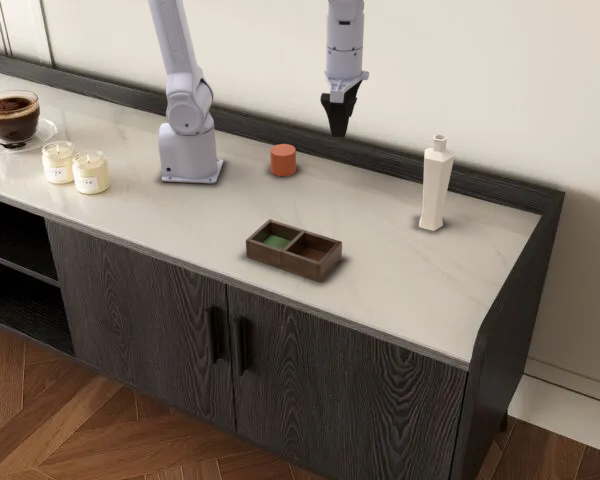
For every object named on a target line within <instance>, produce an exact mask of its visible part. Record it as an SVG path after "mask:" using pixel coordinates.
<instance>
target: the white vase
mask: <svg viewBox="0 0 600 480" xmlns="http://www.w3.org/2000/svg"><path fill="white" fill-rule="evenodd" d="M432 139H433V145H432V147H428V148H425V149H424V157H423V182H422V183H423V184H422V210H421V211H422V212H421V215H420V218H419V222H418V227H419V228H421V229H424V230H428V231H432V232H434V231H437V230H438V229H440V228H441V227H443V226H444V222H443V212H444V207H445V202H446V199H447V193H448V188H449V184H450V181H451V180H450V179H451V174H452V171H453V170H452V169H453V165H454V161H455V154H454V153H453V152H451V151H450V150H448V149H447V141H448V139H449V137H448V136H446V135H445V134H444V133H439V134H433V138H432Z"/></svg>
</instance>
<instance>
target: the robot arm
mask: <svg viewBox="0 0 600 480" xmlns="http://www.w3.org/2000/svg"><path fill="white" fill-rule="evenodd" d="M327 1H328V2H327V3H328V4H327V6H328V8H327V9H328V10H327V12H326V16H325V17H326V20H325V21H326V22H325V23H326V24H325V25H326V26H325V27H326V28H325V70H324V73H323V74H324V75H323V76H324V80H325V82H326V84H327V86H328V89H329V93H328V92H322V93H321V94H320V98H319V99H320V100H319V101H320V104H321V106H322V107H323V109H324V111H325V113H326V116H327V120H328V125H329V129H330V130H329V131H330V134H331V137H332V138H345V137H346V134H347V131H348V127H349V122H350V118H351V117H352V116H353V114H354V113H353V112H354V109H355V105H356V103H357V102H358V97H357V96H358V92H359V89H360V86H361V84H362V82H363V81H368V80H369V78H370V72H369V71H368V70H363V55H364V54H363V52H364V31H365V13H364V10H365V0H327ZM147 3H148V7H149V10H150V14H151V18H152V23H153V26H154V31H155V34H156V38H157V42H158V45H159V50H160V53H161V58H162V61H163V64H164V69H165V73H166V87H165V95H166V99H167V107H166V111H165V118H166V121H167V122H165V123H161V125H160V126H159V130H158V135H157V136H158V139H157V143H158V153H159V161H160V168H161V174H162V175H161V181H162V182H166V183H167V182H169V183H190V184H191V183H192V184H193V183H194V184H195V183H196V184H216V183H217V181H218V178H219V176H220V172H221V171H222V167H223V165H224V159H221V158H218V156H217V155H218V154H217V153H218V152H217V145H216V143H217V141H216V133H215V121H214V118H213V117H212V115H211V113H210V108H211V107H212V105H213V103H214V98H215V97H214V90H213V88H212V86H211V84H209V82H208V81H207V80H206V77H205V75H204V70H203V68H202V67H201V66H200V65H199V64H198V61H197V57H196V53H195V49H194V44H193V41H192V36H191V32H190V27H189V23H188V19H187V14H186V10H185V5H184V2H183V0H147Z"/></svg>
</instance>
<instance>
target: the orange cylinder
mask: <svg viewBox="0 0 600 480" xmlns="http://www.w3.org/2000/svg"><path fill="white" fill-rule="evenodd" d="M269 152H270V172H271V174H273V175H274V176H278V177H289V176H292V175H294V174H295V173H296V171H297V150H296V147H295V146H294V145H292V144H287V143H280V144H275V145H273V146H272V147H270V150H269Z"/></svg>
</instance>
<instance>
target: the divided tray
mask: <svg viewBox="0 0 600 480" xmlns="http://www.w3.org/2000/svg"><path fill="white" fill-rule="evenodd" d="M245 251H246V258H249V259H251V260H254V261H257V262H260V263H263V264H266V265H269V266H271V267H274V268H277V269H281V270H283V271H286V272H288V273H291V274H295V275H297V276H301V277H303V278H306V279H310V280H313V281H315V282H318V283H321V282H322V281H323V280H324V279H325V278H326V277H327V276H328V275H329V274H330V272H331V271H332V270H333V269H334V268H335V267H336V266H337V265H338V264H339V262H341V260H342V259H343V241H341V240H337V239H334V238H332V237H329V236H325V235H322V234H318V233H315V232H312V231H309V230H306V229H303V228H300V227H296V226H293V225H290V224H286V223H284V222H280V221H276V220H274V219H271V218H269V219H268V220H266V221H265V222H264V223H263V224H262V225H261V226H260V227H259V228H258V229H256V230H255V231H254V232H253V233H252V234H250V235H249V237H248V238H246V239H245Z"/></svg>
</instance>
